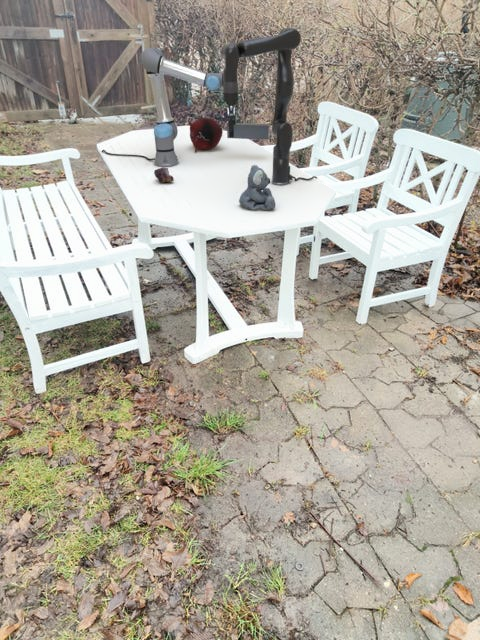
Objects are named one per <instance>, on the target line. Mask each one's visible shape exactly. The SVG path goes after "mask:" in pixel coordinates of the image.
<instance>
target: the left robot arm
mask: <svg viewBox="0 0 480 640" xmlns="http://www.w3.org/2000/svg"><path fill="white" fill-rule="evenodd" d="M139 59H140V65H141V66H142V67H143V69H144V70H145V73H146V76H148V77H149V79H150V86H151V90H152V94H153V100H154V105H155V109H156V114H157V119H156V125H154V127H153V135H154V145H155V155H154V157H153V158H148V157H147V156H145V155H140V154H125V153H124V154H123V153H111V152H107V151H106V150H105V149H102V150H101V152H102V153H103V152H104V153H105V154H106V155H110V156H117V157H118V156H122V157H138V158H139V157H140V158H145V159H146V160H148V161H154V165H155V166H157V167H160V168H162V167H164V168H169V167H174V166H177V165H178V164H179V159H178V156H177V153H176V151H175V143H174V141H175V139H176V138H177V137H178V126H177V125H176V122H175V121H176V120H175V118H174V117H172V114H171V109H170V107H171V106H170V102H169V97H168V91H167V87H166V82H165V75H167V76H171V77H173V78H177V79H179V80H183V81H185V82H189V83H192V84H195V85H198V86H201V87H203V88H206V89H208V90H209V91H212V92H213V91H217V90H218V89H219V88H223V72H206V71H202V70H199V69H196V68H194V67H190V66H188V65H185V64H181V63H179V62H176V61H172V60H170V59H167V58H165V56H164V53H163V52H162V51H161V49H160V48H157V47H149V48H146V49H144V50H143V51H142V52H141V54H140V58H139ZM238 102H239V101H238ZM238 102H234V103H233V105H235V115H234V123H237V106H236V105H238ZM225 104H226V106H227V105H228V102H225ZM227 124H228V127H229V116H228V115H227ZM229 137H234V132H233V128H230V127H229Z"/></svg>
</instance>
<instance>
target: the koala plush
mask: <svg viewBox="0 0 480 640" xmlns="http://www.w3.org/2000/svg"><path fill="white" fill-rule="evenodd" d="M270 183H271V178H269V176H268V175H267V173H266V172H265V170H264V169H263V168H261V167H259V165H257V164H253V165H250V170H249V173H248V176H247V188H246V189H245V190H244V191H243V192H242V193H241V194H240V197H239V199H238V203H239V204H240V206H241V207H242V208H246V209H247V210H252V211H255V210H261V211H272V210H274V209H275V208H276V200H275V198H274V196H273V194H272V191H271V188H270V187H268V186H269V185H270Z"/></svg>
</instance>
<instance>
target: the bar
mask: <svg viewBox="0 0 480 640" xmlns="http://www.w3.org/2000/svg"><path fill="white" fill-rule="evenodd" d="M270 126H271V125H270V123H253V122H252V123H248V122H236V123H234V127H233V132H234V137H229V127H228V123H227V124H226V135H227V139H238V140H239V139H241V140H270Z"/></svg>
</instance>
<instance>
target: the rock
mask: <svg viewBox="0 0 480 640" xmlns="http://www.w3.org/2000/svg"><path fill="white" fill-rule="evenodd" d="M153 173H154V177H155V178H156V179H157V181H158V182H160V183H162V184H163V183H172V182H174V181H175V179H174V176H173V175H171V174H170V172H169V167H160V168H156V169H155V170H154V172H153Z"/></svg>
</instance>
